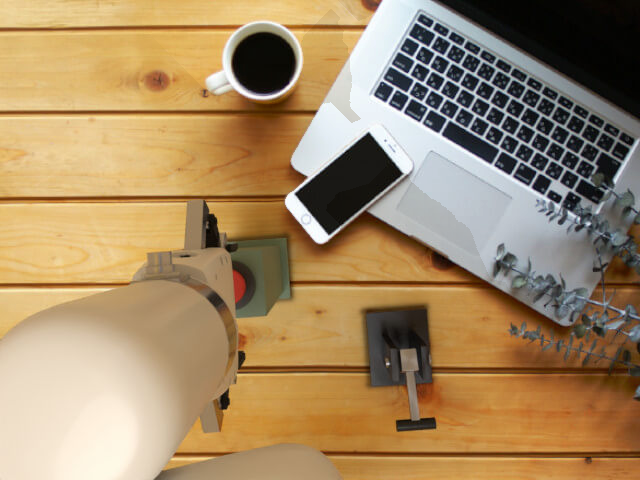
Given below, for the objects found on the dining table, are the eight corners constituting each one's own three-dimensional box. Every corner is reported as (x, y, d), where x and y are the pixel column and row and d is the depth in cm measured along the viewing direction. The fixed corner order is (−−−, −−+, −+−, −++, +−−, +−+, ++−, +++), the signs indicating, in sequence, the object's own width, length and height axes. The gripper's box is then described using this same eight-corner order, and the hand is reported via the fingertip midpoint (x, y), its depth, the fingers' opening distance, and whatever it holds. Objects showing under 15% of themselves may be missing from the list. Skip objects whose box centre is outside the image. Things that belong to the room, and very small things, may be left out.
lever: (434, 429, 67) (437, 429, 65) (395, 431, 67) (398, 432, 65) (423, 349, 71) (426, 347, 68) (387, 352, 71) (388, 350, 68)
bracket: (430, 380, 78) (448, 403, 67) (370, 384, 78) (378, 408, 67) (425, 307, 78) (442, 319, 67) (365, 312, 78) (372, 324, 67)
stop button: (247, 303, 52) (245, 305, 51) (211, 305, 52) (208, 307, 51) (244, 267, 52) (242, 268, 51) (208, 270, 52) (205, 271, 51)
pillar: (290, 297, 78) (276, 326, 53) (231, 301, 78) (189, 332, 53) (286, 237, 78) (270, 238, 53) (226, 242, 78) (182, 245, 53)
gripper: (91, 194, 29) (175, 208, 46) (113, 498, 30) (189, 400, 47) (224, 185, 29) (259, 202, 46) (245, 489, 30) (273, 395, 47)
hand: (224, 301), depth 46 cm, fingers open, 9 cm apart
